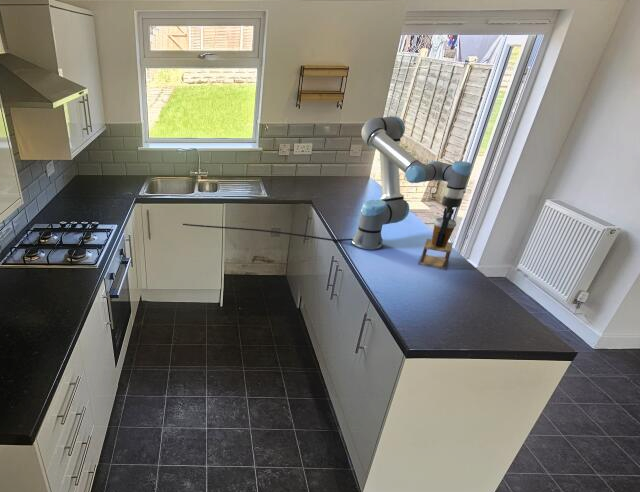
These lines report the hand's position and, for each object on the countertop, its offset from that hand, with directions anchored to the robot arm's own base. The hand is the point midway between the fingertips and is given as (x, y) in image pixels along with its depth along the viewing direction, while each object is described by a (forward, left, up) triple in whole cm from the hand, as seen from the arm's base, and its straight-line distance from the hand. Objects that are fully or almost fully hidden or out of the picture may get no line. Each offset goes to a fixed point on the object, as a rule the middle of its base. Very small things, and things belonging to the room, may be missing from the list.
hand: (439, 243), depth 210 cm
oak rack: (0, 0, -10) cm, 10 cm away
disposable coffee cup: (0, 0, -1) cm, 1 cm away
